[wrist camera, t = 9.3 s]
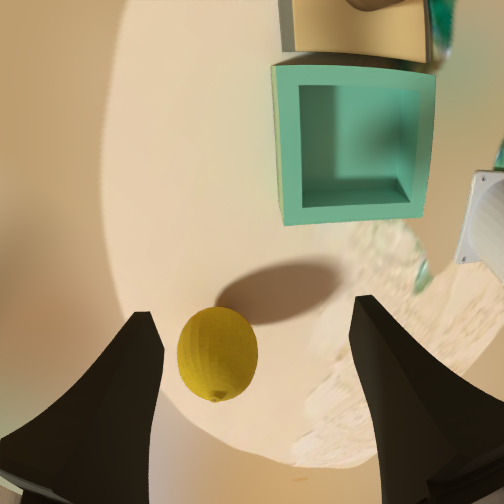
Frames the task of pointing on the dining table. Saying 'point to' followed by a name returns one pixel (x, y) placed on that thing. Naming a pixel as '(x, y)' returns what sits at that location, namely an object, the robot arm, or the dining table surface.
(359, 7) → the lid
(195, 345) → the lemon
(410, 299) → the dining table surface
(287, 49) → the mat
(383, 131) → the dish
